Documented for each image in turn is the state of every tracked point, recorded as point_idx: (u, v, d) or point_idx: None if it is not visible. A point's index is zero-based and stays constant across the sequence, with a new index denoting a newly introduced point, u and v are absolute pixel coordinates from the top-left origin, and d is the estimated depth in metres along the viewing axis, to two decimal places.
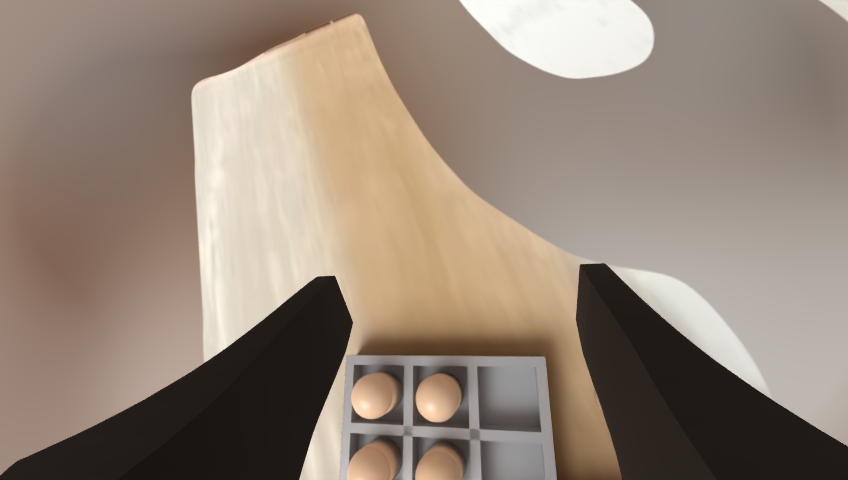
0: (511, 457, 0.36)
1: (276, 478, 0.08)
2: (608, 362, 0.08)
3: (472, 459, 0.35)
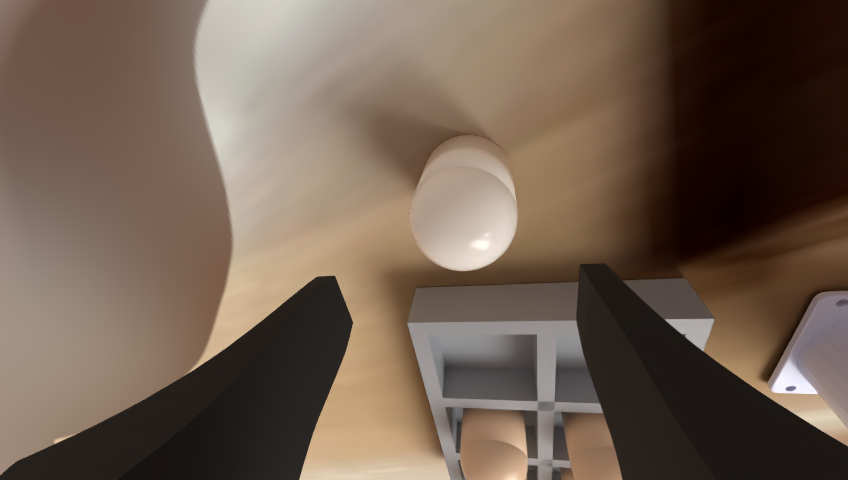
0: None
1: (276, 478, 0.08)
2: (608, 362, 0.08)
3: (583, 410, 0.22)
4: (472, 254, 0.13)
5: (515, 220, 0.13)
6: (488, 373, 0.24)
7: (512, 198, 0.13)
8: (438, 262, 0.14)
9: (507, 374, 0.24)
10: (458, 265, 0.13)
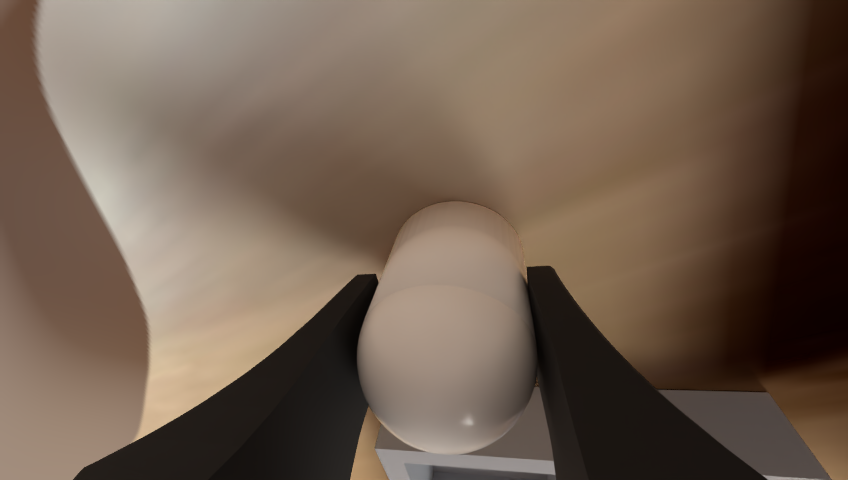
0: None
1: None
2: (543, 361, 0.08)
3: None
4: (460, 448, 0.07)
5: (535, 376, 0.08)
6: None
7: (529, 338, 0.08)
8: (403, 440, 0.08)
9: None
10: (436, 453, 0.08)
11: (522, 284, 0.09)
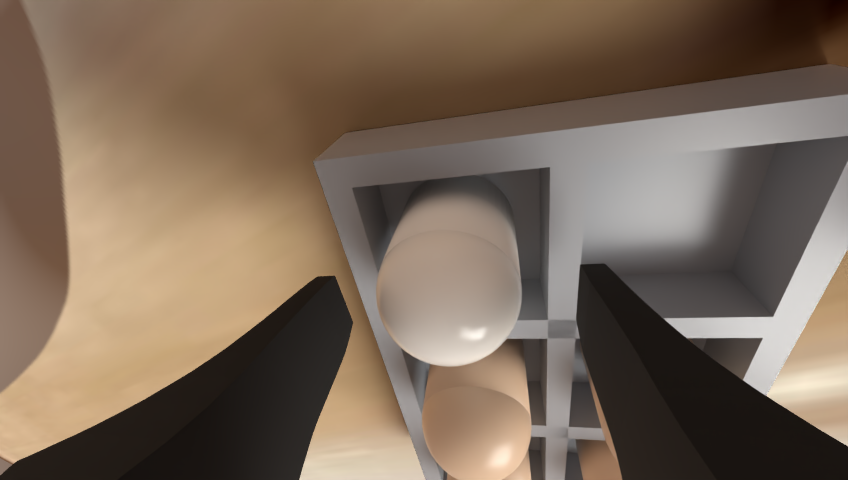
0: (623, 213, 0.13)
1: (276, 478, 0.08)
2: (608, 362, 0.08)
3: None
4: (459, 355, 0.09)
5: (519, 303, 0.10)
6: None
7: (515, 273, 0.10)
8: (413, 356, 0.10)
9: None
10: (440, 365, 0.10)
11: (511, 236, 0.11)
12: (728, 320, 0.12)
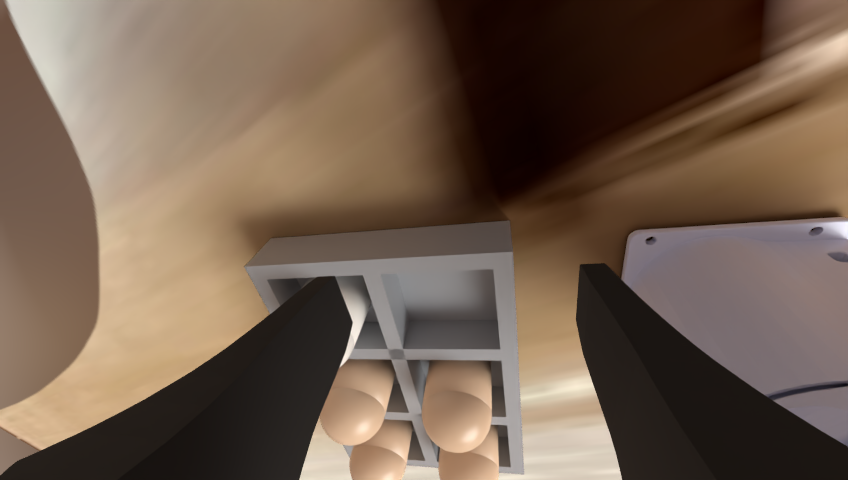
0: (430, 287, 0.22)
1: (276, 478, 0.08)
2: (608, 362, 0.08)
3: (432, 357, 0.22)
4: None
5: None
6: None
7: None
8: None
9: (370, 326, 0.24)
10: None
11: (352, 306, 0.20)
12: (480, 351, 0.21)
